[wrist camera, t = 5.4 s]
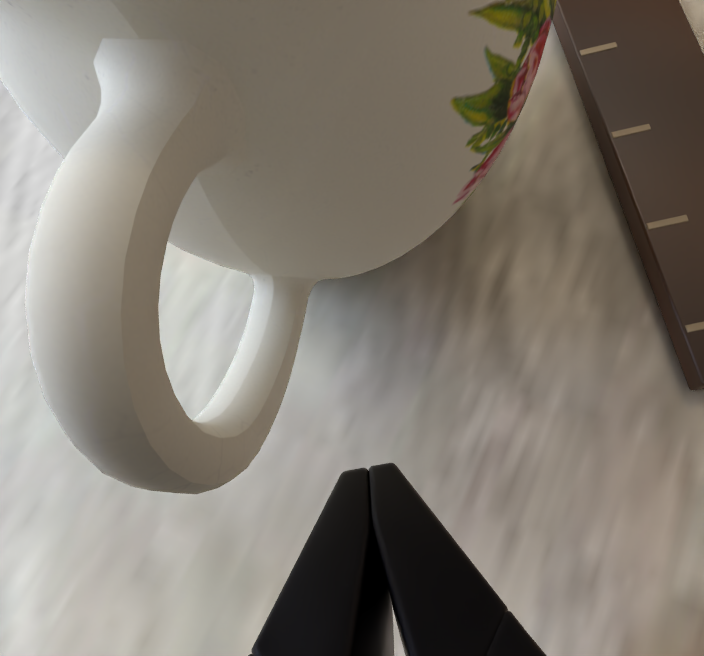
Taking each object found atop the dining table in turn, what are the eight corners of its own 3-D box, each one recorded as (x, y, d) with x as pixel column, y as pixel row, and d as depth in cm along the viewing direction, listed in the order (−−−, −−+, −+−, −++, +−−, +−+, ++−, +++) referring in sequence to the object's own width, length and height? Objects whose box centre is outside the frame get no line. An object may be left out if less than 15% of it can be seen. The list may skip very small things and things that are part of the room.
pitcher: (92, 472, 17) (-1129, 359, 4) (211, -28, 21) (-115, -856, 8) (485, 524, 15) (915, 668, 2) (517, -28, 20) (703, -1042, 7)
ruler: (824, 364, 15) (848, 356, 14) (689, 391, 15) (705, 385, 15) (634, -58, 20) (643, -84, 19) (531, -34, 20) (536, -58, 19)
